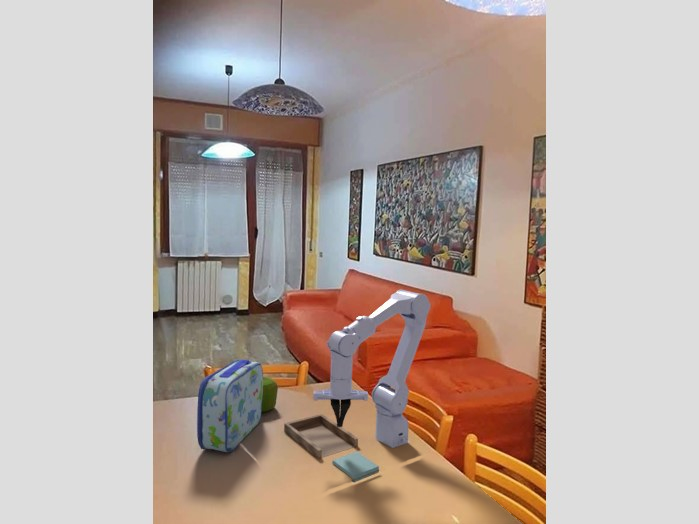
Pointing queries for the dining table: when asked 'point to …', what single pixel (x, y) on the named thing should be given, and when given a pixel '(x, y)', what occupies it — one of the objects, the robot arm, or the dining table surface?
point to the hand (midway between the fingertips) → (339, 425)
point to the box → (320, 435)
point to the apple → (269, 394)
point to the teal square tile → (356, 466)
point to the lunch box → (229, 405)
